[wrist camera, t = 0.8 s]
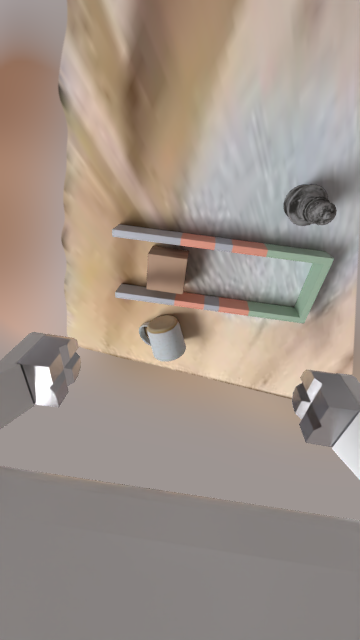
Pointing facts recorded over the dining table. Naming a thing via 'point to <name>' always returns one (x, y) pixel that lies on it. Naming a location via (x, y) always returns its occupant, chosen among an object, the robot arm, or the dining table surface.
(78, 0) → the dining table surface
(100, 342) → the dining table surface
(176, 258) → the walnut block
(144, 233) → the frame
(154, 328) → the ceramic mug
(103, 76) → the dining table surface
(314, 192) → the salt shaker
